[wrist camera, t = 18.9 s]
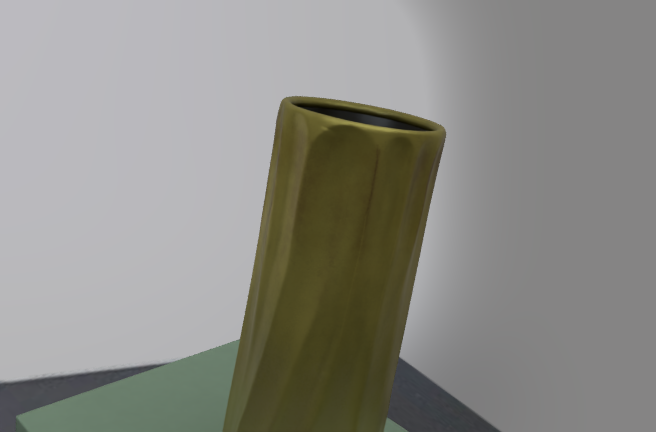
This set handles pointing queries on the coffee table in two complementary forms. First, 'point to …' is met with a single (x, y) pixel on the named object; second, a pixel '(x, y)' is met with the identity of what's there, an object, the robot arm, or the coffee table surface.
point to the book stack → (152, 400)
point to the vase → (333, 267)
